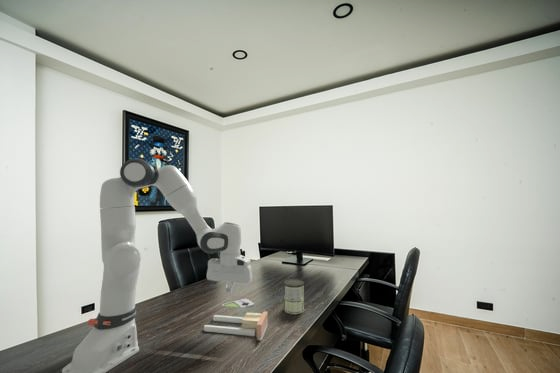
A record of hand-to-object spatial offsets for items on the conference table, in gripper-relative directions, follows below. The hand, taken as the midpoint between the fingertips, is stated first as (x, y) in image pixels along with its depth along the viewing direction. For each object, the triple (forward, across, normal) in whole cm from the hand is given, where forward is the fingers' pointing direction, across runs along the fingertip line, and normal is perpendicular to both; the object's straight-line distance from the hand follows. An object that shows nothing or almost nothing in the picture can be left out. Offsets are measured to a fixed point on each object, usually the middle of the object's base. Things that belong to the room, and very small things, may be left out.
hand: (228, 291), depth 104 cm
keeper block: (+15, +11, +1) cm, 18 cm away
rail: (+16, +4, +1) cm, 16 cm away
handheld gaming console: (+16, -3, +25) cm, 30 cm away
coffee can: (+15, +27, +25) cm, 39 cm away
